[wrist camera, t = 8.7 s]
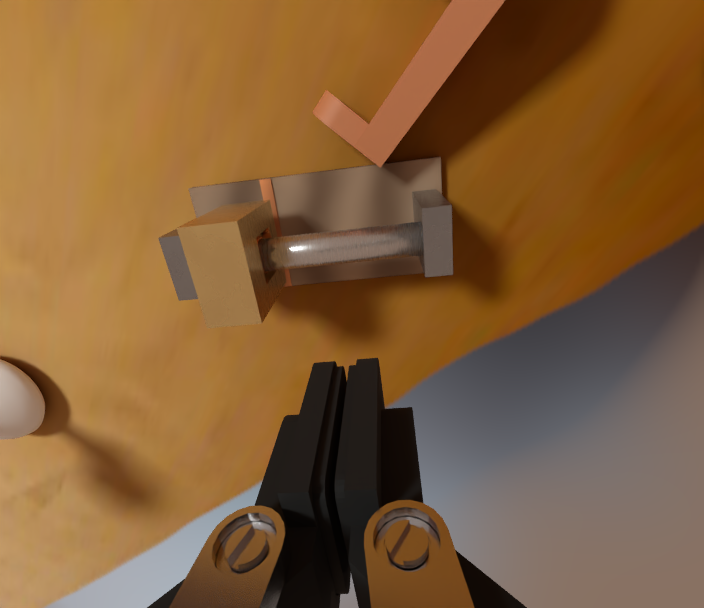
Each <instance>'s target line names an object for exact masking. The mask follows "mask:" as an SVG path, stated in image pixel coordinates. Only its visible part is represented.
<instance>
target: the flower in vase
mask: <svg viewBox="0 0 704 608" xmlns="http://www.w3.org/2000/svg"><path fill="white" fill-rule="evenodd" d="M44 414H45V402H44V398H43V396H42V394H41V392H40V390H39V388H38V387H37V385H36V384H35V383H34V382H33V380H32V379H31V378H30V377H29V376H27V375H26V374H25V373H24V372H23V371H21V370H20V369H19V368H17V367H15V366H14V365H12V364H10V363H8V362H6V361H4V360H1V359H0V439H15V438H20V437H23V436H25V435H28V434H30V433H32V432H34V431H35V430H37V429H38V428H39V427H40V425H41V424H42V422H43V419H44Z"/></svg>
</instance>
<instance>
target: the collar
mask: <svg viewBox="0 0 704 608" xmlns="http://www.w3.org/2000/svg"><path fill="white" fill-rule="evenodd" d="M177 231H178V234H179V238H180V241H181V244H182V247H183V251H184V254H185V257H186V260H187V264H188V267H189V270H190V273H191V277H192V280H193V283H194V286H195V290H196V293H197V296H198V299H199V303H200V306H201V309H202V312H203V316H204V319H205V322H206V325H207V328H215V327H227V326H238V325H250V324H261V323H262V322H263V321H264V319H265V317H266V316H267V314H268V312H269V311H270V309H271V307H272V305H273V304H274V302H275V300H276V299H277V297H278V295H279V294H280V292H281V290H282V288H283V287H284V285H285V283H286V282H287V281H286V276H285V271H284V270H274V271H268V273H267V274H266V275H264V271H263V266H262V262H261V257H260V253H259V248H258V244H257V240H256V237H258V236H262V237H263V238H273V237H277V232H276V227H275V222H274V218H273V213H272V208H271V203H270V200H261V201H253V202H245V203H236V204H228V205H222V206H220V207H218V208H216V209H214V210H212V211H210V212H208V213H206V214H204V215H202V216H200V217H198V218H196V219H194V220H192V221H190V222H188V223H186V224H184V225H182V226H180V227H178V228H177Z"/></svg>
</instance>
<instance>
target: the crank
mask: <svg viewBox="0 0 704 608" xmlns="http://www.w3.org/2000/svg"><path fill="white" fill-rule="evenodd" d="M504 1H505V0H452V1H451V3H450V4H449V6H448V7H447V9H446V10H445V12H444V13H443V15H442V16H441V17H440V19H439V20H438V22H437V23H436V25H435V26H434V28H433V29H432V31H431V32H430V34H429V35H428V37H427V38H426V40H425V41H424V43H423V44H422V46H421V47H420V49H419V50H418V52H417V53H416V55H415V56H414V58H413V59H412V61H411V62H410V64H409V65H408V67H407V68H406V70H405V71H404V73H403V74H402V76H401V77H400V79H399V80H398V82H397V83H396V85H395V86H394V88H393V89H392V91H391V92H390V94H389V95H388V97H387V98H386V100H385V101H384V103H383V104H382V106H381V107H380V109H379V110H378V112H377V113H376V115H375V116H374V118H373V119H372V120H371V122H370V123H369V124H368V123H367V122H366V121H364V120H363V119H362V118H361V117H359V116H358V115H357V114H356V113H354V112H353V111H352V110H351V109H349V108H348V107H347V106H346V105H345V104H343V103H342V102H341V101H340V100H338V99H337V98H336V97H335V96H333V95H332V94H331V93H330V92H328V91H327V90H326V91H325V93H324V94H323V96H322V97H321V99H320V101H319V102H318V104H317V106H316V107H315V109H314V111H313V112H312V113H313V114H314V115H315V116H316V117H317V118H319V119H320V120H321V121H322V122H323V123H324V124H326V125H327V126H328V127H329V128H331V129H332V130H333V131H334V132H336V133H337V134H338V135H339V136H341V137H342V138H343V139H345V140H346V141H347V142H348V143H350V144H351V145H352V146H353V147H355V148H356V149H357V150H358V151H360V152H361V153H362V154H364V155H365V156H366V157H367V158H369V159H370V160H371V161H372V162H374V163H375V164H376V165H378V166H379V167H380V168H381V166H382V165H383V164H384V162H385V161H386V160H387V158H388V157H389V156H390V154H391V153H392V152H393V150H394V149H395V148H396V146H397V145H398V143H399V142H400V141H401V139H402V138H403V137H404V135H405V134H406V133H407V131H408V130H409V129H410V127H411V126H412V125H413V123H414V122H415V121H416V119H417V118H418V117H419V115H420V114H421V113H422V111H423V110H424V109H425V107H426V106H427V105H428V103H429V102H430V101H431V99H432V98H433V97H434V95H435V94H436V92H437V91H438V90H439V88H440V87H441V86H442V84H443V83H444V82H445V80H446V79H447V78H448V76H449V75H450V74H451V72H452V71H453V70H454V68H455V67H456V66H457V64H458V63H459V62H460V60H461V59H462V58H463V56H464V55H465V54H466V52H467V51H468V50H469V48H470V47H471V46H472V44H473V43H474V41H475V40H476V39H477V37H478V36H479V35H480V33H481V32H482V31H483V29H484V28H485V27H486V25H487V24H488V23H489V21H490V20H491V19H492V17H493V16H494V15H495V13H496V12H497V11H498V9H499V8H500V7H501V5H502V4H503V3H504Z"/></svg>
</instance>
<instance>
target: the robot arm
mask: <svg viewBox="0 0 704 608" xmlns="http://www.w3.org/2000/svg"><path fill="white" fill-rule="evenodd" d="M350 573H351V574H352V579H353V583H354V587H355V592H356V597H357V601H358V606H359V608H527V607H525V606H524V605H523V604H521V603H520V602H519V601H518V600H517V599H515V598H514V597H513V596H512V595H510V594H509V593H508V592H507V591H505V590H504V589H503V588H502V587H501V586H499V585H498V584H497V583H496V582H494V581H493V580H492V579H491V578H489V577H488V576H487V575H485V574H484V573H483V572H482V571H481V570H479V569H478V568H477V567H476V566H474V565H473V564H472V563H471V562H469V561H468V560H467V559H466V558H464V557H463V556H462V555H461V554H460V553H458V552H457V551H456V550H455V548H454V545H453V542H452V539H451V537H450V533H449V530H448V528H447V526H446V524H445V522H444V520H443V518H442V517H440V515H439V514H438V513H437V512H436V511H435V510H434V509H432V508H431V507H429V506H427V505H425V504H424V503H423V497H422V488H421V479H420V471H419V462H418V453H417V445H416V436H415V427H414V419H413V410H412V407H408V408H393V409H385V406H384V398H383V391H382V383H381V375H380V367H379V360H378V358H370V359H357V363H356V365H352V366H349V371H348V379H347V381H346V375H345V369H344V367H343V366H340V367H337V365H336V362H335V361H333V362H320V363H314V364H313V367H312V371H311V374H310V378H309V381H308V385H307V389H306V392H305V396H304V399H303V403H302V406H301V410H300V414H299V415H287V416H285V417H284V419H283V422H282V424H281V427H280V430H279V433H278V436H277V440H276V443H275V446H274V449H273V452H272V455H271V458H270V461H269V464H268V467H267V470H266V473H265V476H264V479H263V482H262V485H261V488H260V491H259V494H258V497H257V500H256V503H255V506H249V507H246V508H243V509H240V510H237V511H236V512H234V513H232V514H230V515H229V516H227V517H226V518H225V519H224V520H223V521H222V522H220V523H219V524H218V525H217V526H216V528H215V529H214V530H213V532H212V533H211V535H210V536H209V537H208V539H207V541H206V543H205V544H204V546H203V548H202V550H201V552H200V553H199V555H198V557H197V559H196V560H195V562H194V564H193V566H192V568H191V569H190V571H189V573H188V575H187V577H186V578H185V579H184V580H183V581H181V582H180V583H179V584H177V585H176V586H175V587H173V588H172V589H171V590H170V591H168V592H167V593H166V594H164V595H163V596H162V597H161V598H159V599H158V600H157V601H155V602H154V603H153V604H151V605H150V606H149V607H147V608H339V603H340V594H348V593H349V588H350V575H351V574H350Z"/></svg>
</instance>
